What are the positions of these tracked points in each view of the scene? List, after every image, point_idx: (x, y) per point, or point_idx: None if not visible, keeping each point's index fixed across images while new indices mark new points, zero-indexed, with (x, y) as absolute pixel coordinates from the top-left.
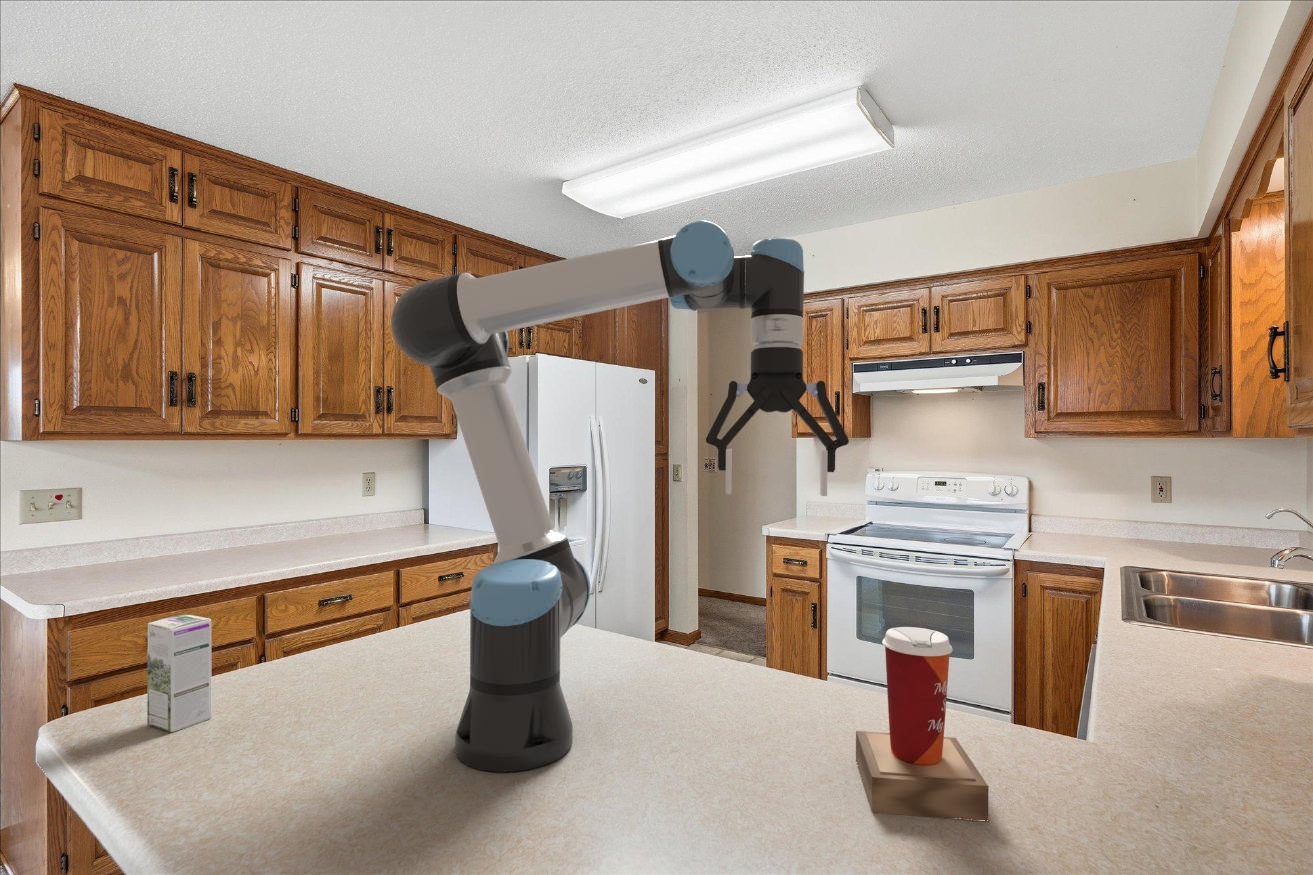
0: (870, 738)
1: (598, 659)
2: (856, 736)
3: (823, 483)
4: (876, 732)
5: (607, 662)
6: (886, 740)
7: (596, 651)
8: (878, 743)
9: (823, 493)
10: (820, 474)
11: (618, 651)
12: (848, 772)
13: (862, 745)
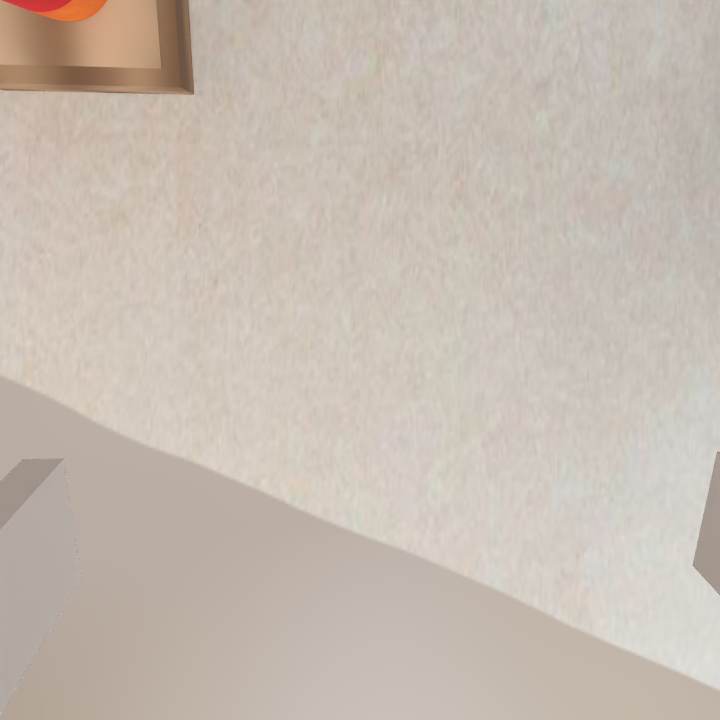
0: (152, 39)
1: None
2: (182, 79)
3: (4, 509)
4: (137, 84)
5: (688, 513)
6: (119, 33)
7: None
8: (137, 13)
9: (42, 468)
10: (4, 673)
11: (667, 579)
12: (211, 40)
13: (172, 7)
